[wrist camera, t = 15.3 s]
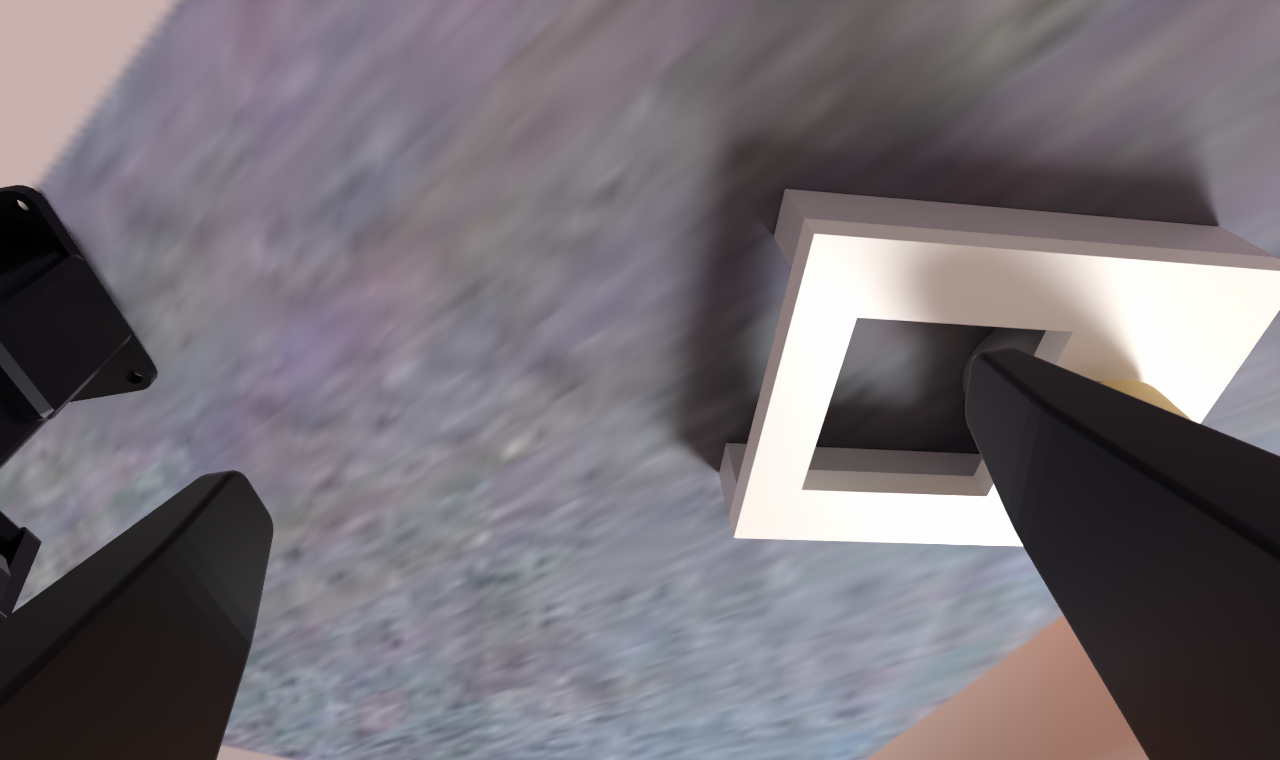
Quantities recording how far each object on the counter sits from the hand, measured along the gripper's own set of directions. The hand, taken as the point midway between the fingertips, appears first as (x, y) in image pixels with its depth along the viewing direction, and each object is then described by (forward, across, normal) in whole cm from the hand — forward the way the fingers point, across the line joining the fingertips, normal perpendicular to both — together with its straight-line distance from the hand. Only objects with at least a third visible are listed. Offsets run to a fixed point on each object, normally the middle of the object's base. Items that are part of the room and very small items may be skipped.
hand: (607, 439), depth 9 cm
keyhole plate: (+13, -10, +10) cm, 19 cm away
